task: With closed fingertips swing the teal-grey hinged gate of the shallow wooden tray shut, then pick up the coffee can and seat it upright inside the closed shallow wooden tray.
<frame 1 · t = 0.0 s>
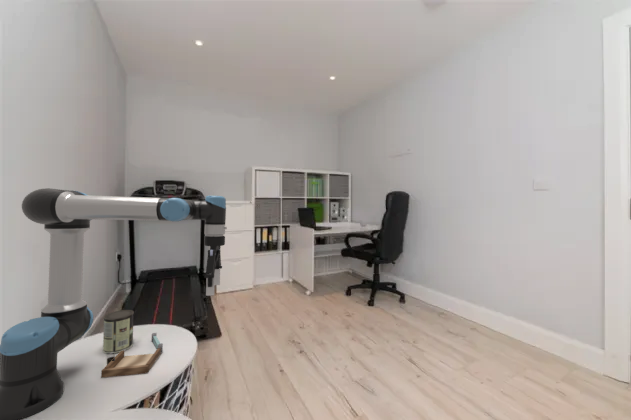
hand: (213, 289, 101), 28 cm above the table, fingers open, 13 cm apart
shallow wooden tray: (134, 363, 99), on the table
gate: (157, 342, 111), point 2 cm above the table, hinge at 60.0°
coffee can: (118, 348, 110), on the table
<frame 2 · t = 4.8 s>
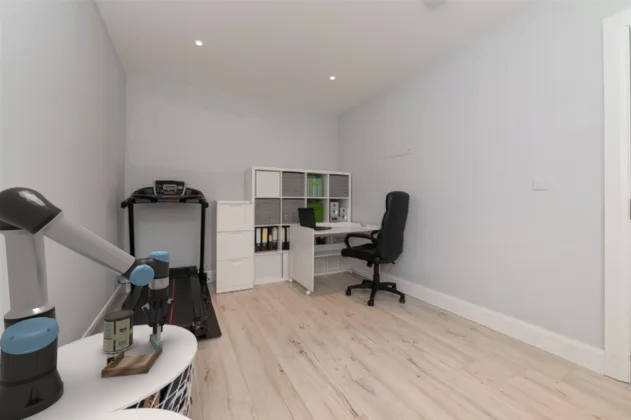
hand: (157, 340, 114), 1 cm above the table, fingers closed
gate: (155, 342, 111), point 2 cm above the table, hinge at 56.3°, touching gripper
everything else where it was.
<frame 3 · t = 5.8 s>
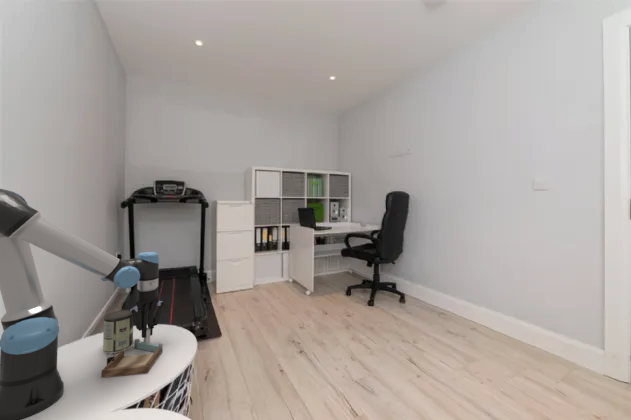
hand: (146, 344, 111), 1 cm above the table, fingers closed
gate: (148, 345, 108), point 2 cm above the table, hinge at 27.9°, touching gripper
everything else where it was.
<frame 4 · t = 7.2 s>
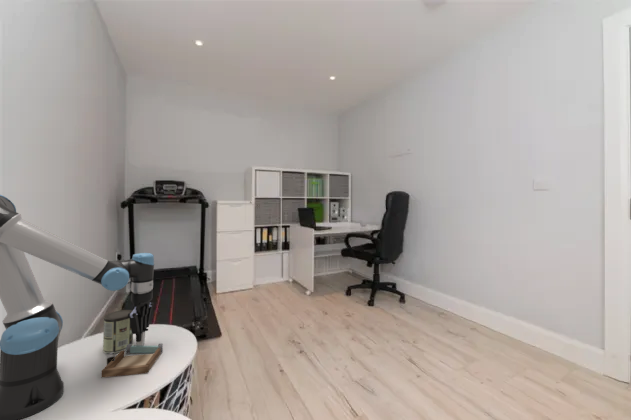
hand: (140, 347, 107), 1 cm above the table, fingers closed
gate: (144, 348, 106), point 2 cm above the table, hinge at 9.3°, touching gripper
everything else where it was.
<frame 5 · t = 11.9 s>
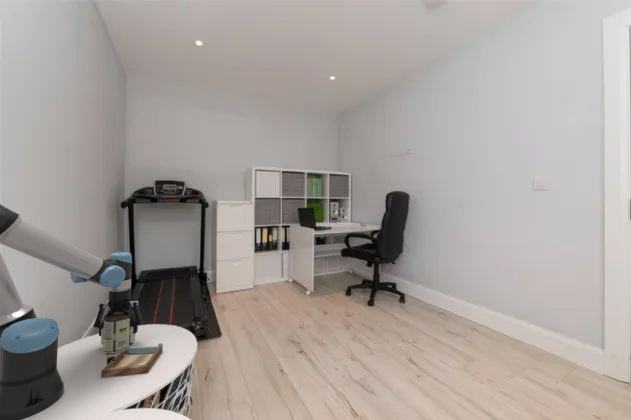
hand: (118, 342, 110), 2 cm above the table, fingers closed on coffee can, 10 cm apart
gate: (144, 348, 106), point 2 cm above the table, hinge at 4.9°
coffee can: (118, 348, 110), on the table, touching gripper
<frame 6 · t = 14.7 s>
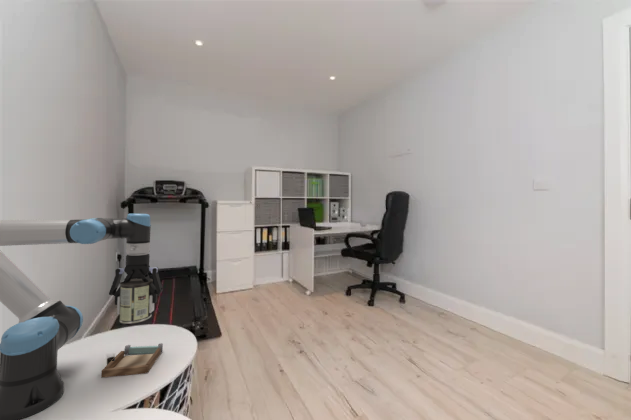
hand: (136, 312, 99), 19 cm above the table, fingers closed on coffee can, 10 cm apart
coffee can: (135, 318, 99), point 17 cm above the table, touching gripper
everything else where it was.
when the fingers open (4 cm above the table, at t = 17.9 s): coffee can drops 2 cm, resting on shallow wooden tray.
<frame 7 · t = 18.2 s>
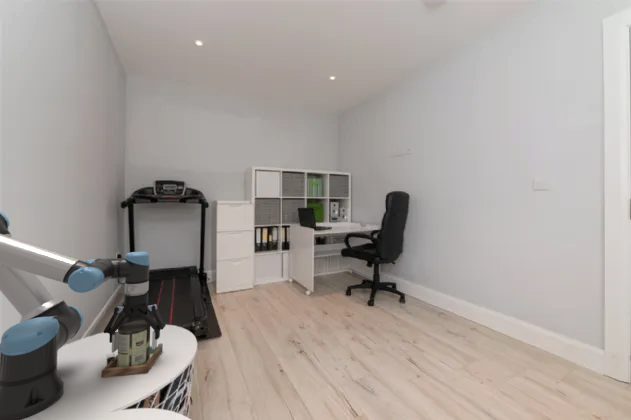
hand: (134, 349, 99), 5 cm above the table, fingers open, 13 cm apart
coffee can: (133, 363, 99), resting on shallow wooden tray
everything else where it was.
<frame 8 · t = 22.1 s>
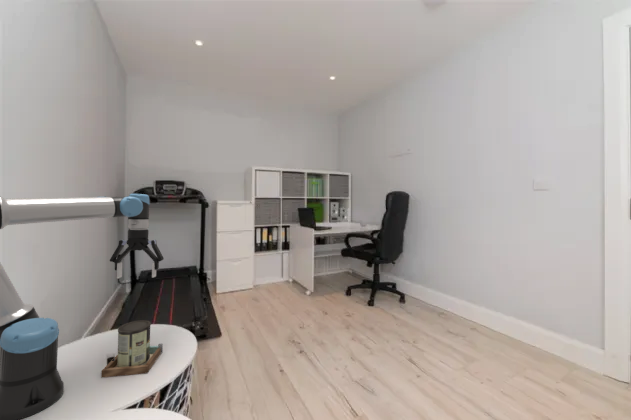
hand: (136, 277, 114), 29 cm above the table, fingers open, 13 cm apart
nothing on the table moved.
at the end: gate at +5° (first picture: +60°); coffee can inside the target area on the shallow wooden tray (0.3 cm from its centre), point 0.1 cm above the shallow wooden tray's base; coffee can tilted 0° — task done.
